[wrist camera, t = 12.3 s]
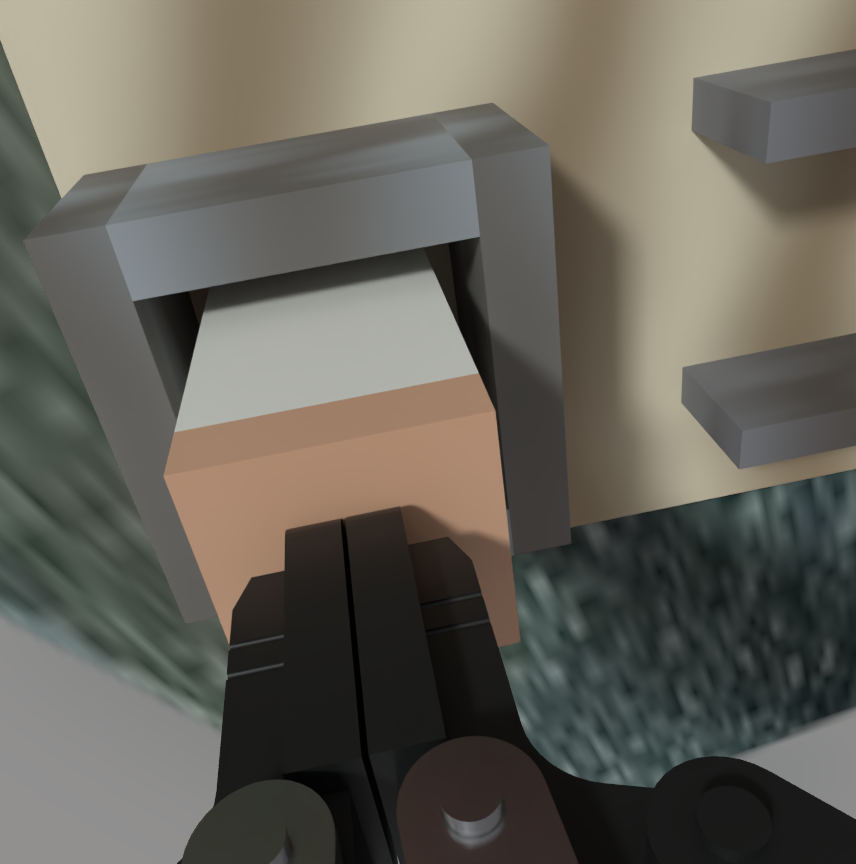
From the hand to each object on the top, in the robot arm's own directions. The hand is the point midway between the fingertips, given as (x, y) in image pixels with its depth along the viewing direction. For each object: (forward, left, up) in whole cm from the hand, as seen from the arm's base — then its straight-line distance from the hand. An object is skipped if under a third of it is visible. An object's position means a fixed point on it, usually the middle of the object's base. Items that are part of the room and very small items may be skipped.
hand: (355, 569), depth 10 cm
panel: (-6, 0, -10) cm, 11 cm away
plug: (0, 0, -8) cm, 8 cm away
